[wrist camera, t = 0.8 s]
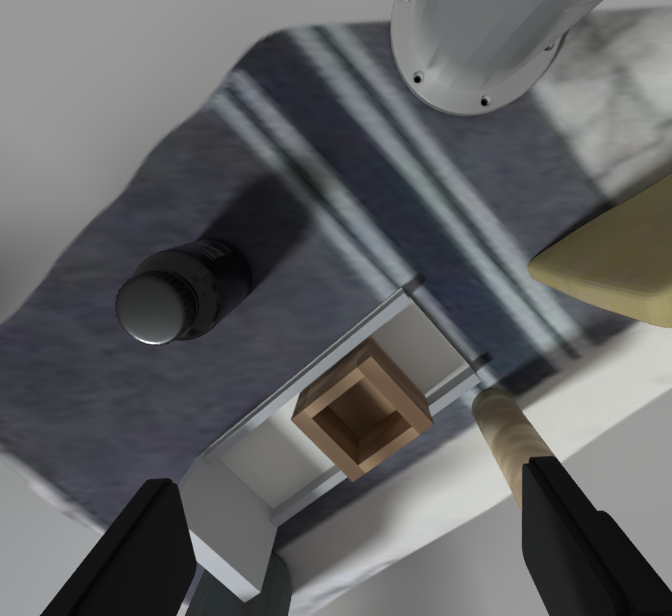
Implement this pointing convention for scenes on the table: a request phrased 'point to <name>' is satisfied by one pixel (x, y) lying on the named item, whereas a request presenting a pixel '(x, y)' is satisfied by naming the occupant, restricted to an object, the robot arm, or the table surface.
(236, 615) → the bottle
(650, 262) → the cheese
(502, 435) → the dowel
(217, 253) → the supplement bottle
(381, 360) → the brown wooden open box
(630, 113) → the table surface
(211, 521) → the track
